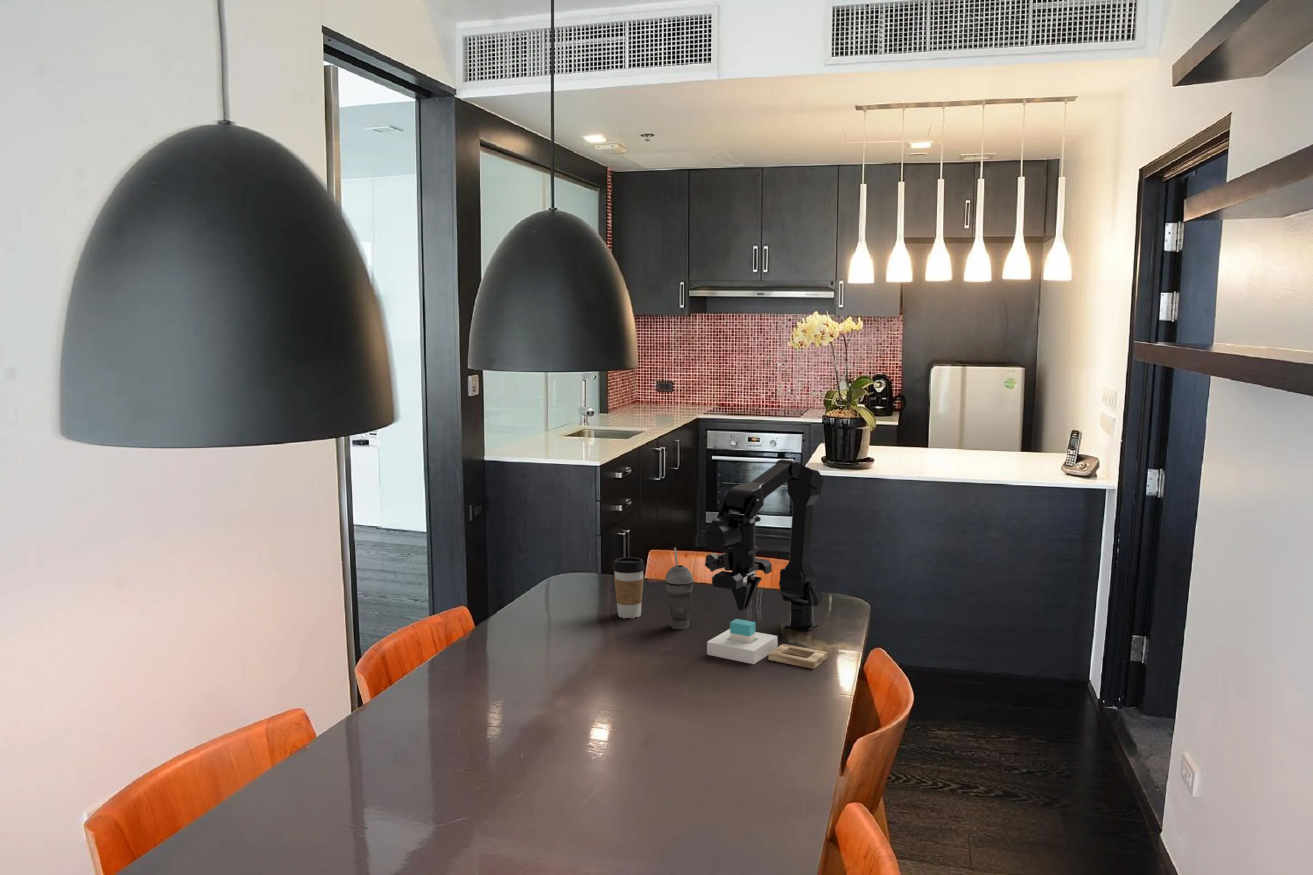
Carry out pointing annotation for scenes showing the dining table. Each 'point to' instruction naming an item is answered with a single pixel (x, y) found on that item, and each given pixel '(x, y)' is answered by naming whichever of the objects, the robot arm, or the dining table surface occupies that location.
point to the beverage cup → (679, 594)
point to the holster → (782, 656)
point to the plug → (742, 631)
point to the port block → (742, 647)
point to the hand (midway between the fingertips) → (742, 609)
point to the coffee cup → (629, 586)
